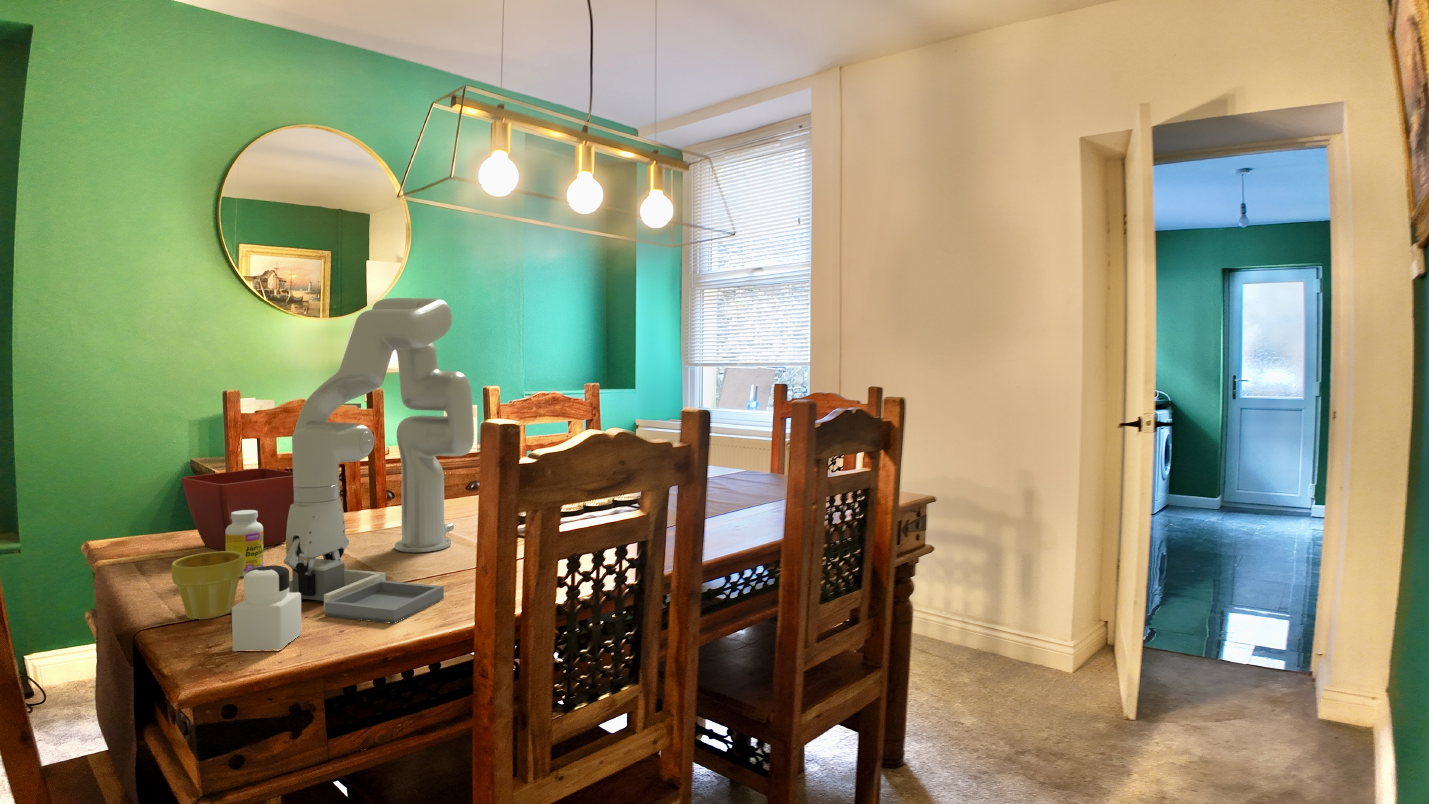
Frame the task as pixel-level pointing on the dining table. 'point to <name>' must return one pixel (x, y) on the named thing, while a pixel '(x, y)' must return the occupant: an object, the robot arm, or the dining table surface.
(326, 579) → the gray block
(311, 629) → the dining table surface
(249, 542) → the supplement bottle
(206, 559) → the plant pot
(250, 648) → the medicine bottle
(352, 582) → the bay
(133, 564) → the dining table surface
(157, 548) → the dining table surface
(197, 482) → the plant pot
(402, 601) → the tray
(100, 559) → the dining table surface
